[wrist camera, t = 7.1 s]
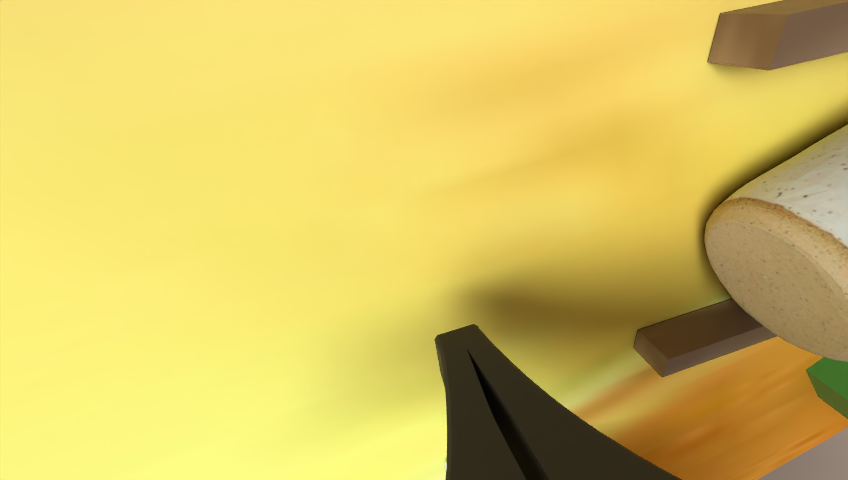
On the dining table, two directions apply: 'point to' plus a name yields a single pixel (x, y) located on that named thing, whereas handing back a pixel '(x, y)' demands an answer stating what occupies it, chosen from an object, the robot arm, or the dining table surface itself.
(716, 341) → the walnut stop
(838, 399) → the hardback book
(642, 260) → the dining table surface
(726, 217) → the ceramic mug
